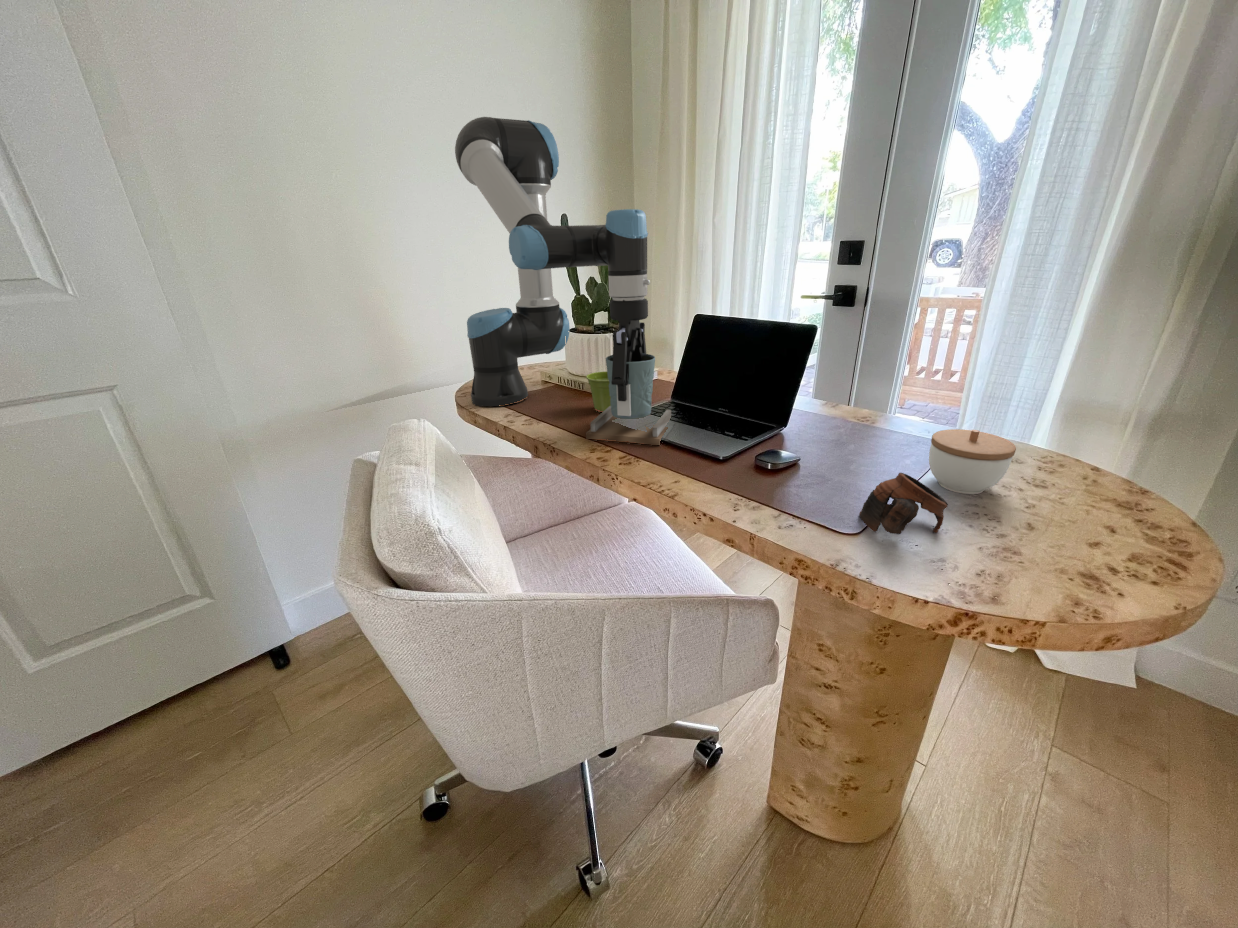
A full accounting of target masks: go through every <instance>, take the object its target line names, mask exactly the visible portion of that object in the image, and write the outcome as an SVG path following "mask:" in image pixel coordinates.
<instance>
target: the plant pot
mask: <svg viewBox="0 0 1238 928" xmlns="http://www.w3.org/2000/svg"><path fill="white" fill-rule="evenodd" d="M585 378H586V380H587V382H588V385H589V386H590V391H591V395H592V396H591V397H592V403H593V407H594V408H595V409H597V410H600V411H605V410H606V409H607V408H608V407H609V406H611V404H610V403H611V401H610V399H611V397H610V392H609V384H610V383H609V380H608V374H607V370H606V371H598V372H597V371H595V372H590V373H589V374H586V376H585ZM595 409H594V410H595Z"/></svg>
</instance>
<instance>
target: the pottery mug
mask: <svg viewBox="0 0 1238 928" xmlns="http://www.w3.org/2000/svg"><path fill="white" fill-rule="evenodd" d="M890 499H892V500H891V504H890V503H889V501H890ZM918 504H920V507H919V505H918ZM948 506H949V503H948V502H947V501H946V500H945V499H944V498H943V497H942V496H941V495H939V493H936V492H935V491H934V490H932V489H931V488H930V487H928V486H927V485H925V484H924V483H923V482H920V481H919V480H918V479H916V478H914V477H912V476H910V475H908V474H907V473H904V472H898V474H897V476H895V477H894V478H891V479H890V478H889V479H887V480H884V481H882V482H879V484H878V485H876V486H875V488H874V489H873V490H872V491H871V492H870V494H869V496H868V497H867V499H866V500H865V501H864V503H863V505H862V508H861V510H860V512H859V513H858V514H859V518H860V520H861V521H862V522H863V523H864V525H865V526H866V527H867V528H869V529H870V530H871V531H873V532H875V533H876V532H878V529H879V527H880V526H882V528H883V530H885V532H887V534H892V535H901V533H902V532H903V531H904V530H905V529H906V527H907V526H908V524H910V523H911V522H912V521H913V520H914V519H915V518H916V517H917V516H918V512H919V510H920V509H919V508H921V509H923V510H926V511H928V512H929V513H931V514H933V515H934V516H935V519H936V524H935V526H934V527H933V529H932V532H933V533H934V534H937V533H938V532H939V530H941V527H942V526H943V524H944V518H945V515H944V512H945V511H944V510H945V509H947V508H948Z"/></svg>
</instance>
